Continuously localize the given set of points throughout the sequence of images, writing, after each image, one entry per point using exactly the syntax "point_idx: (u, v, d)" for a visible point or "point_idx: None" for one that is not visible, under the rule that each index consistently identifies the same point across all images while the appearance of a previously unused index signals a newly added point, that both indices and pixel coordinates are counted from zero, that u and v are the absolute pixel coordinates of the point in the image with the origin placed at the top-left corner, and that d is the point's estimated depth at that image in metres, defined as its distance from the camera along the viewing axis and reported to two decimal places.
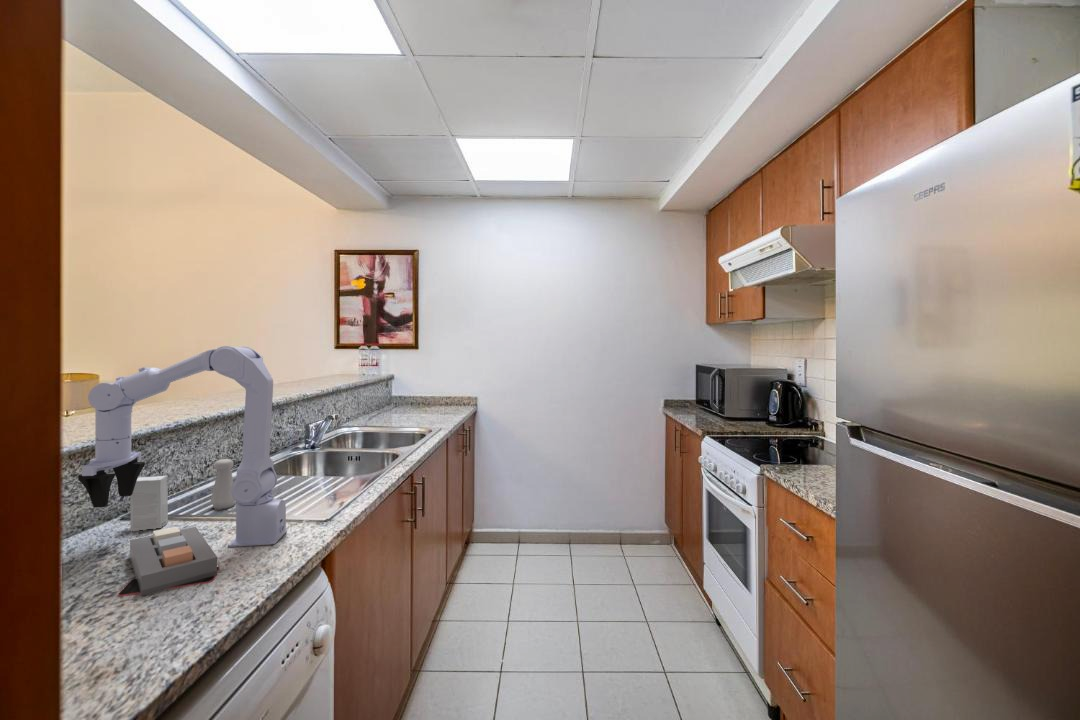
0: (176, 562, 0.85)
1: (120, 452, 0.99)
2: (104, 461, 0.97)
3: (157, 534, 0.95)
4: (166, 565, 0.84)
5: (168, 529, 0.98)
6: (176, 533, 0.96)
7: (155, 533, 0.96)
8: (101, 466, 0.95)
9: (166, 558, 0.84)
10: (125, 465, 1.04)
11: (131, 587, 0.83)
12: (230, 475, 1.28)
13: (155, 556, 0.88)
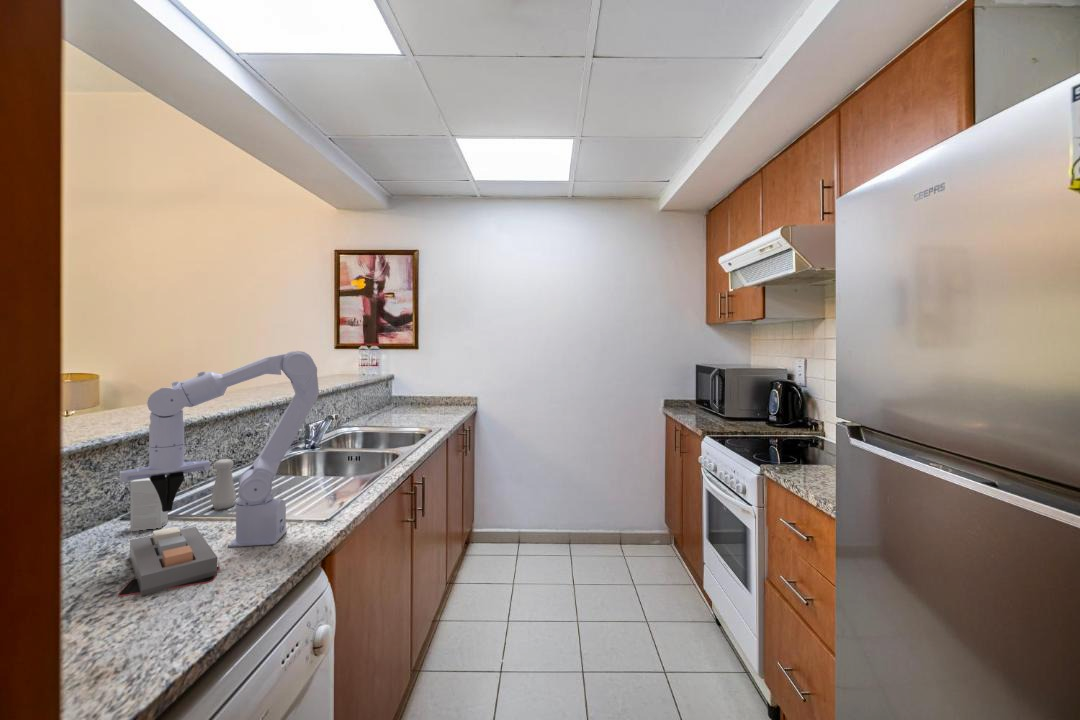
0: (176, 562, 0.85)
1: (158, 461, 0.94)
2: (149, 468, 0.95)
3: (157, 534, 0.95)
4: (166, 565, 0.84)
5: (168, 529, 0.98)
6: (176, 533, 0.96)
7: (155, 533, 0.96)
8: (133, 474, 0.92)
9: (166, 558, 0.84)
10: (168, 477, 0.97)
11: (131, 587, 0.83)
12: (230, 475, 1.28)
13: (155, 556, 0.88)
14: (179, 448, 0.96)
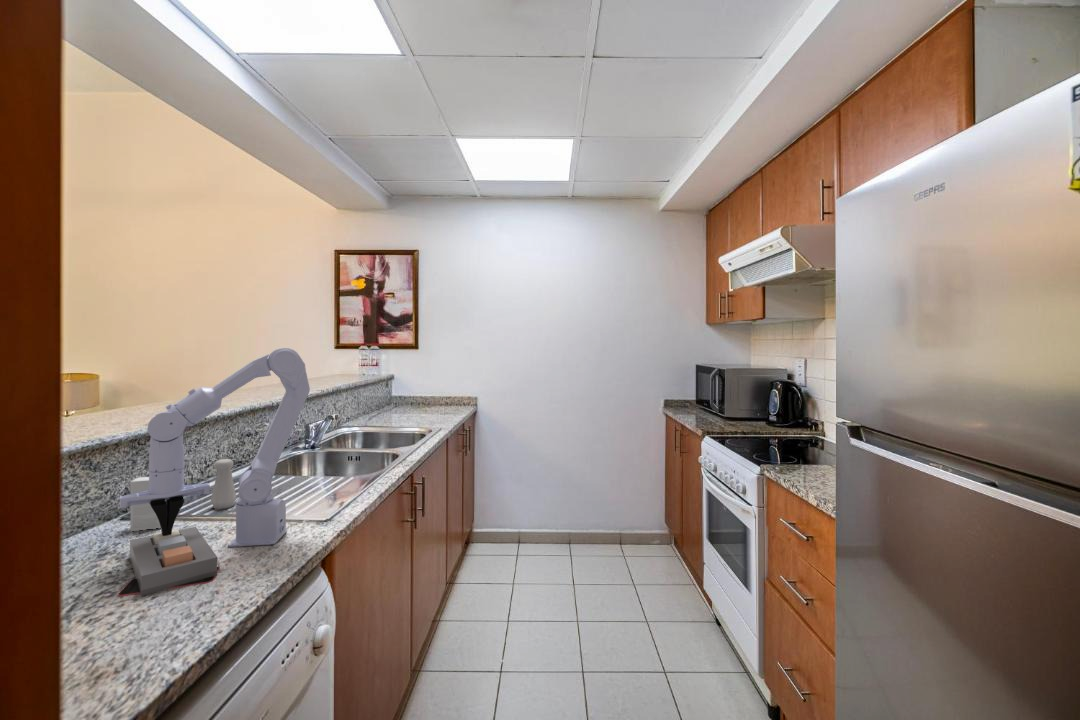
0: (176, 562, 0.85)
1: (158, 486, 0.94)
2: (149, 492, 0.95)
3: (157, 537, 0.95)
4: (166, 565, 0.84)
5: None
6: (176, 536, 0.96)
7: (155, 536, 0.96)
8: (132, 499, 0.92)
9: (166, 558, 0.84)
10: (168, 501, 0.97)
11: (131, 587, 0.83)
12: (230, 475, 1.28)
13: (155, 556, 0.88)
14: (179, 472, 0.96)
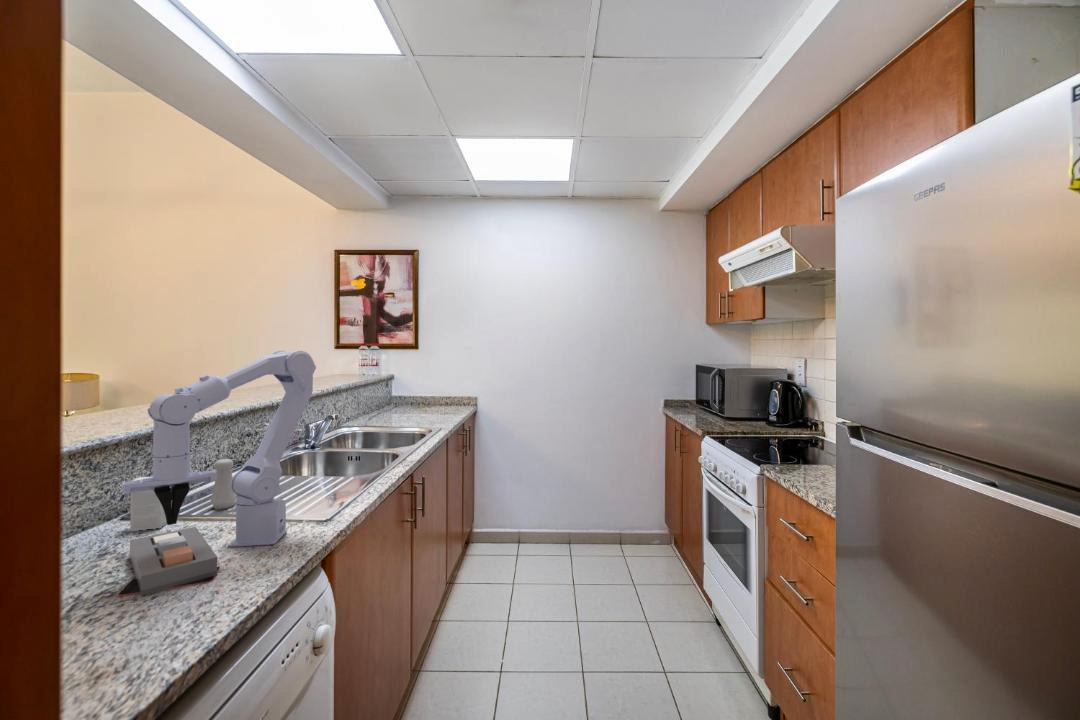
0: (176, 562, 0.85)
1: (162, 472, 0.89)
2: (153, 479, 0.90)
3: (157, 540, 0.95)
4: (166, 565, 0.84)
5: (168, 535, 0.98)
6: None
7: (155, 539, 0.96)
8: (135, 485, 0.87)
9: (166, 558, 0.84)
10: (173, 488, 0.92)
11: (131, 587, 0.83)
12: (230, 475, 1.28)
13: (155, 556, 0.88)
14: (184, 458, 0.92)
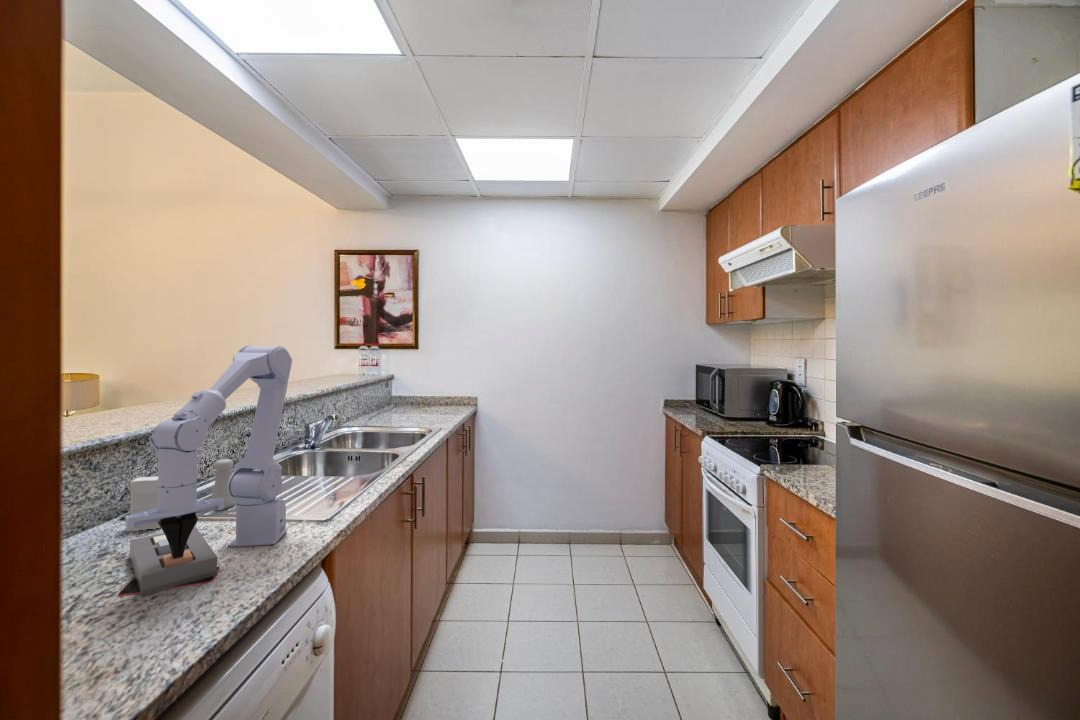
0: None
1: (169, 503, 0.84)
2: (158, 510, 0.85)
3: (157, 540, 0.95)
4: None
5: None
6: None
7: (155, 539, 0.96)
8: (141, 518, 0.82)
9: (166, 563, 0.84)
10: (179, 519, 0.87)
11: (131, 587, 0.83)
12: (230, 475, 1.28)
13: (155, 556, 0.88)
14: (192, 487, 0.87)
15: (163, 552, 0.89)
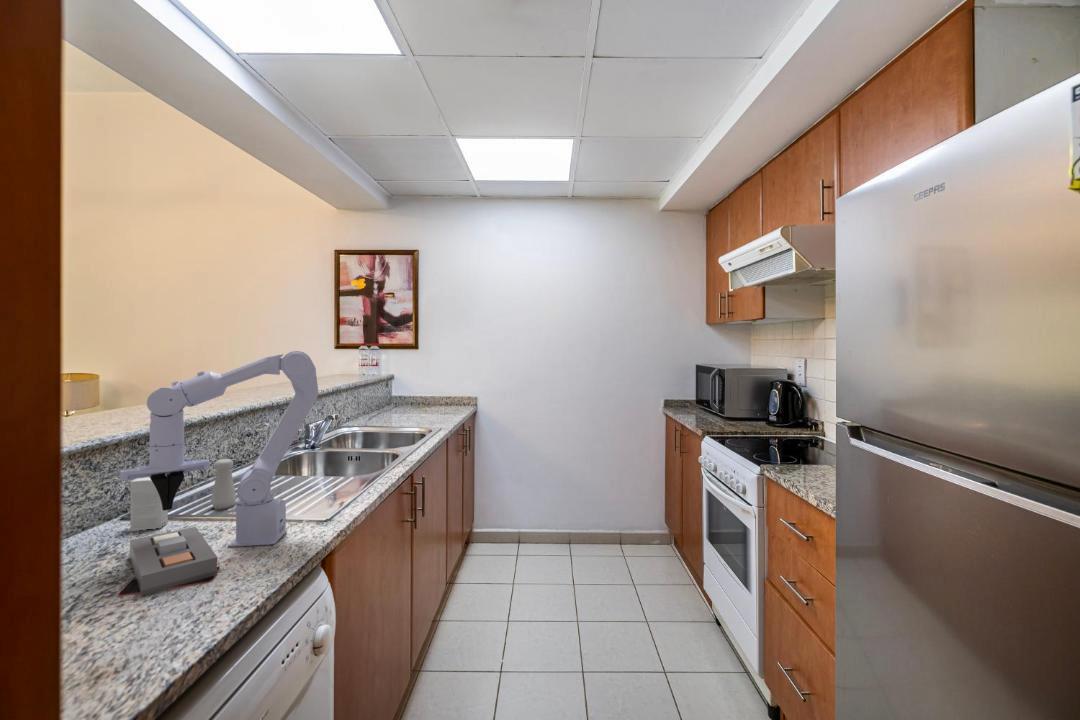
0: None
1: (158, 460, 0.95)
2: (149, 467, 0.95)
3: (157, 540, 0.95)
4: None
5: (168, 535, 0.98)
6: None
7: (155, 539, 0.96)
8: (133, 473, 0.93)
9: (166, 565, 0.84)
10: (168, 476, 0.98)
11: (131, 587, 0.83)
12: (230, 475, 1.28)
13: (155, 556, 0.88)
14: (179, 447, 0.97)
15: (163, 552, 0.89)
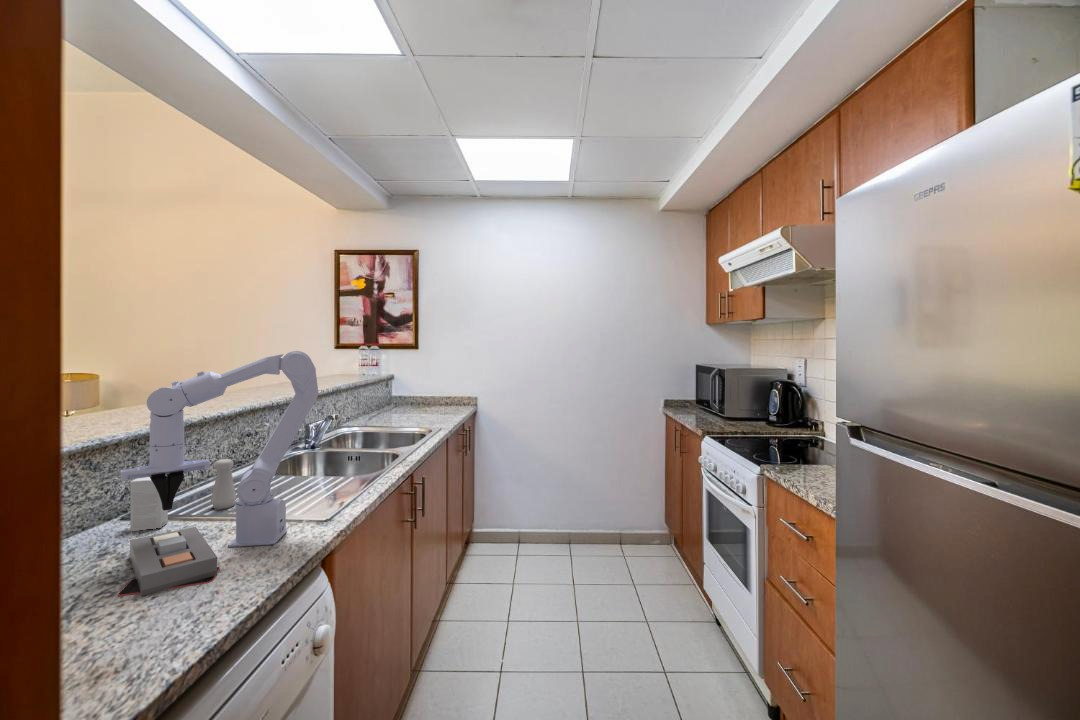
0: None
1: (158, 460, 0.95)
2: (149, 467, 0.95)
3: (157, 540, 0.95)
4: None
5: (168, 535, 0.98)
6: None
7: (155, 539, 0.96)
8: (133, 472, 0.93)
9: (166, 565, 0.84)
10: (168, 476, 0.98)
11: (132, 587, 0.83)
12: (230, 475, 1.28)
13: (155, 556, 0.88)
14: (179, 447, 0.97)
15: (163, 552, 0.89)
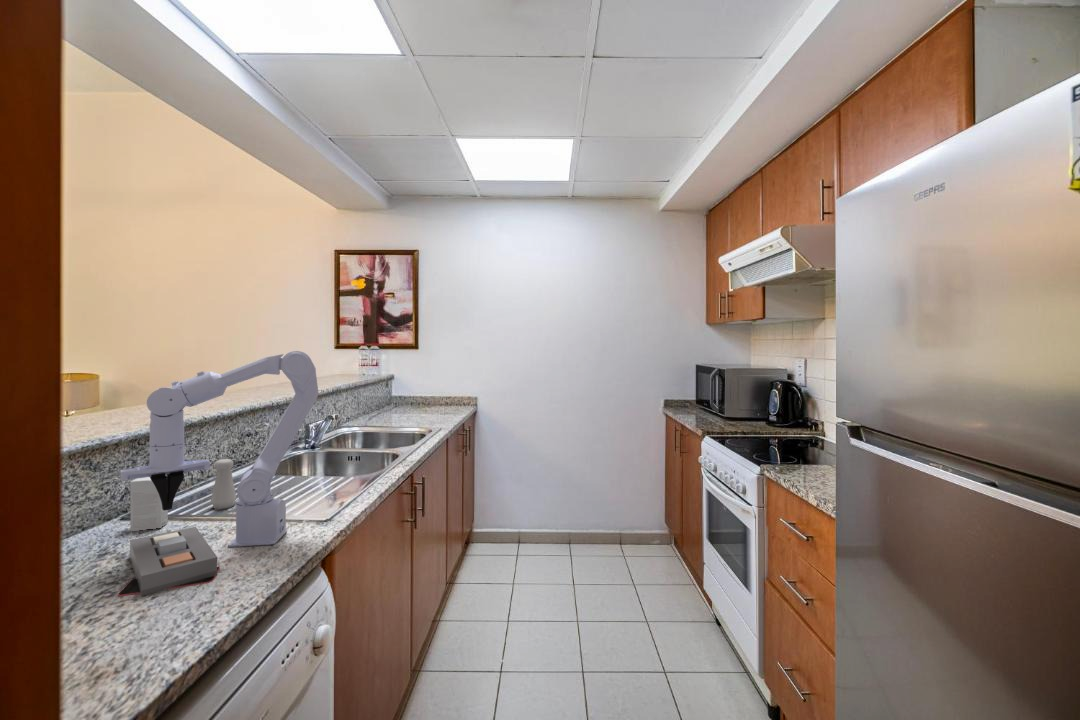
0: None
1: (158, 460, 0.95)
2: (149, 467, 0.95)
3: (157, 540, 0.95)
4: None
5: (168, 535, 0.98)
6: None
7: (155, 539, 0.96)
8: (133, 472, 0.93)
9: (166, 565, 0.84)
10: (168, 476, 0.98)
11: (132, 587, 0.83)
12: (230, 475, 1.28)
13: (155, 556, 0.88)
14: (179, 447, 0.97)
15: (163, 552, 0.89)
